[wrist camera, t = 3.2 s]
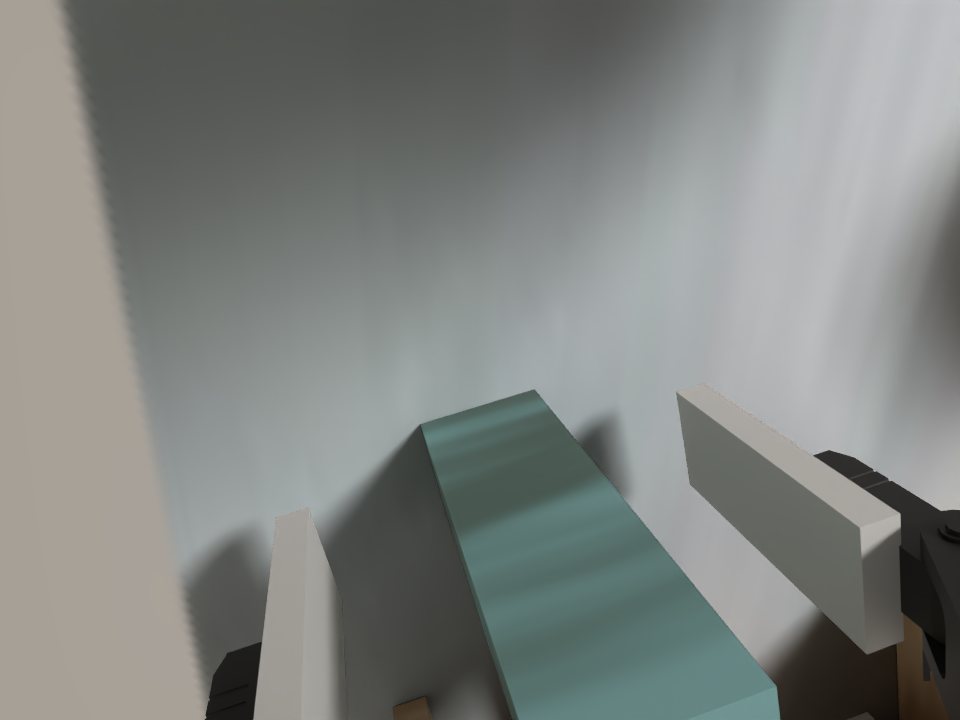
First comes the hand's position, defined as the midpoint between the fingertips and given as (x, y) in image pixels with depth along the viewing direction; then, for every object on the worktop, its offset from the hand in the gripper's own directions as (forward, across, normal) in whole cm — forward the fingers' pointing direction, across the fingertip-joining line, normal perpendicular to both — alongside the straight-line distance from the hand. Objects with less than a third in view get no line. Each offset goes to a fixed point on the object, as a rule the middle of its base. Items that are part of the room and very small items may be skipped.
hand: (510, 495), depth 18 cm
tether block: (+2, 0, -9) cm, 9 cm away
